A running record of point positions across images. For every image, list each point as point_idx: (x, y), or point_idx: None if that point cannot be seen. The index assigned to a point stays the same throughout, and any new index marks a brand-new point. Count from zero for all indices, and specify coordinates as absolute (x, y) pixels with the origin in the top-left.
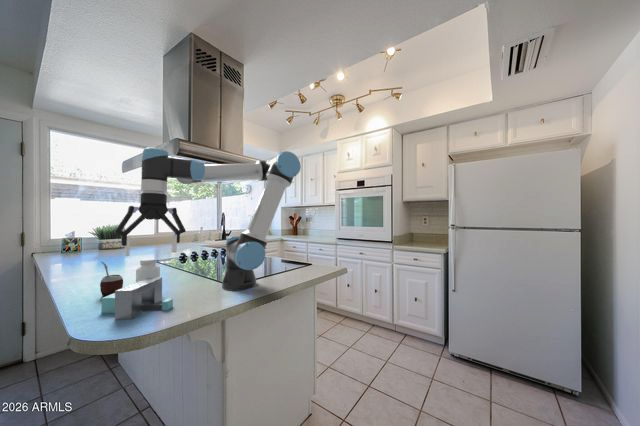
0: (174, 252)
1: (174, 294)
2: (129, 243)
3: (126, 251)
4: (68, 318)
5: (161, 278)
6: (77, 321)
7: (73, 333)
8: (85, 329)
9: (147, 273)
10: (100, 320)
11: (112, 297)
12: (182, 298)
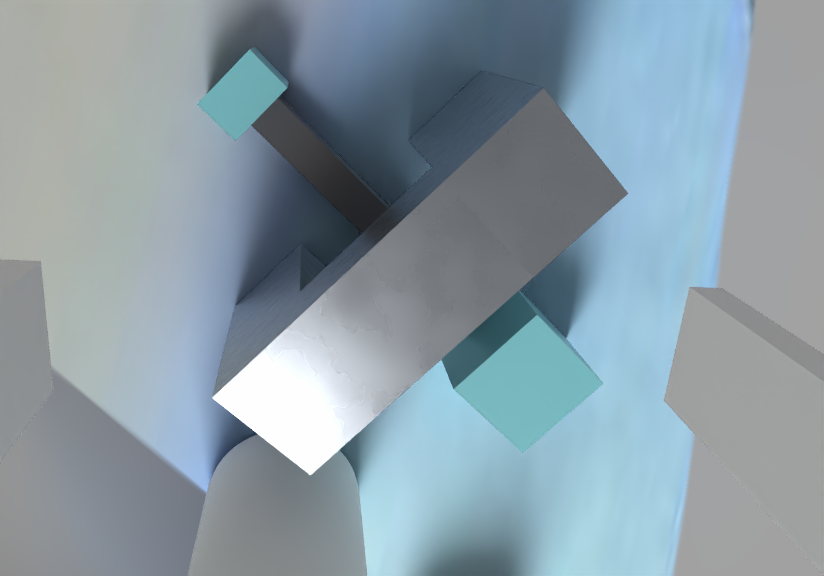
0: (31, 261)
1: (118, 401)
2: (819, 377)
3: (764, 320)
4: None
5: (220, 387)
6: (678, 286)
7: (738, 94)
8: (688, 108)
9: (301, 561)
10: None
11: (554, 349)
12: (91, 253)
